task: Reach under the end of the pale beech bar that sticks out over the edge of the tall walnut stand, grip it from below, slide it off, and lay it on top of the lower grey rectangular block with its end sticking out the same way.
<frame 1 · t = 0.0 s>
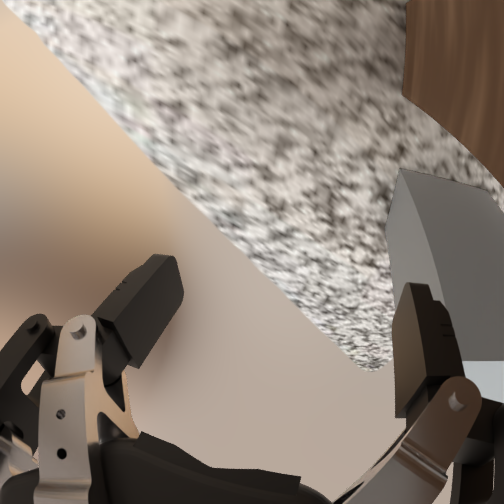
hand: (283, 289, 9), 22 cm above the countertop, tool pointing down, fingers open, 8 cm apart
tall walnut stand: (468, 68, 16), on the countertop
grey rectangular block: (437, 209, 28), on the countertop
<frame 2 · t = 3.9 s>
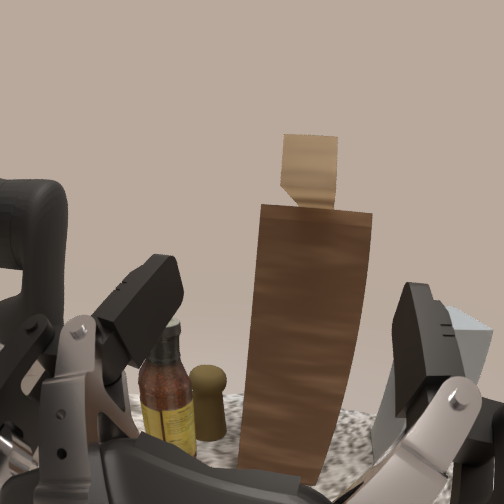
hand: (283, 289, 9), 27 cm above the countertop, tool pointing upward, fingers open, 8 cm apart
sauce bottle: (172, 456, 29), on the countertop
cork: (206, 430, 36), on the countertop
tall walnut stand: (285, 447, 33), on the countertop
grey rectangular block: (398, 455, 29), on the countertop
beech bar: (317, 210, 26), point 32 cm above the countertop, touching tall walnut stand
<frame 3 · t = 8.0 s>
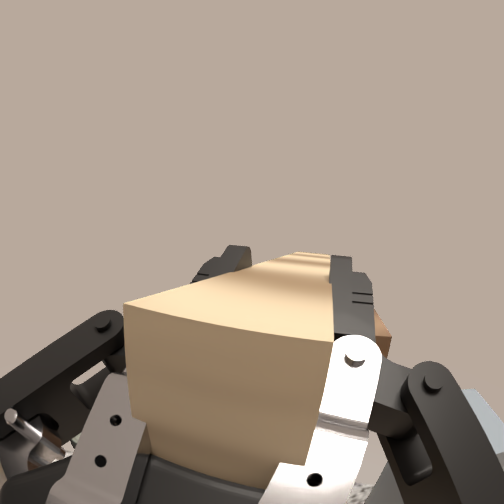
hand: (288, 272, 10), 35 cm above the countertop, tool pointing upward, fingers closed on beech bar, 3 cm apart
beech bar: (296, 316, 15), point 32 cm above the countertop, touching gripper, tall walnut stand
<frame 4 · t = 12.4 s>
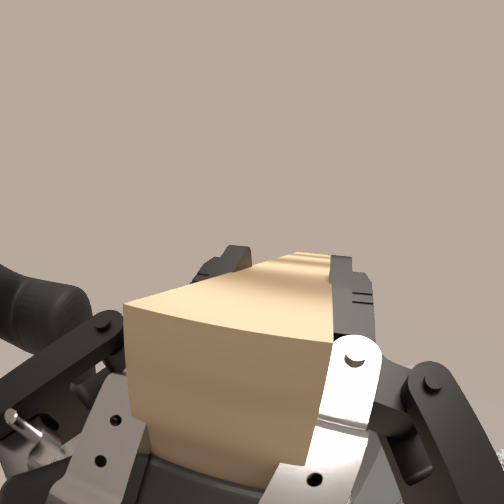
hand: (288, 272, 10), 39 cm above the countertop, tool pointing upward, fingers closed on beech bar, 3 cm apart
grey rectangular block: (373, 482, 33), on the countertop
beech bar: (296, 316, 15), point 36 cm above the countertop, touching gripper
when the fingers open (27 cm above the countertop, at t = 17.2 s): beech bar drops 2 cm, resting on grey rectangular block.
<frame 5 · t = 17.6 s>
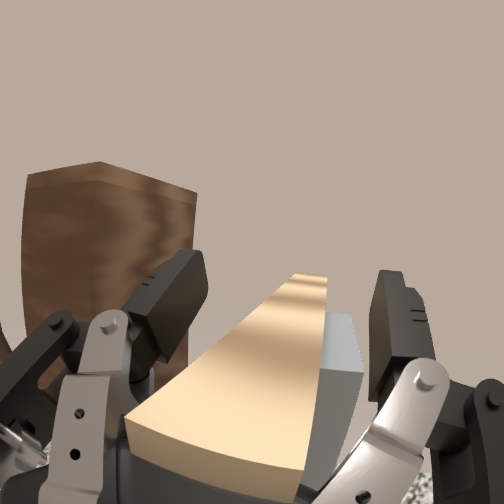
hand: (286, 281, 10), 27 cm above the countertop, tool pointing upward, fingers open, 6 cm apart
tall walnut stand: (129, 462, 25), on the countertop
beech bar: (291, 350, 15), point 22 cm above the countertop, touching grey rectangular block
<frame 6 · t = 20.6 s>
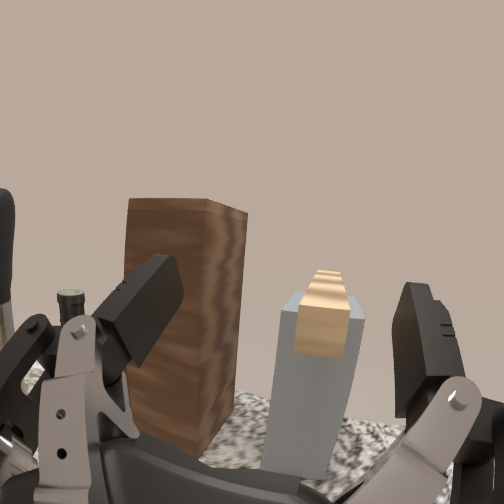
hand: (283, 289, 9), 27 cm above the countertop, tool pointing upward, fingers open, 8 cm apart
sauce bottle: (89, 415, 33), on the countertop
tall walnut stand: (187, 422, 37), on the countertop
grey rectangular block: (298, 449, 32), on the countertop
beech bar: (324, 310, 27), point 22 cm above the countertop, touching grey rectangular block
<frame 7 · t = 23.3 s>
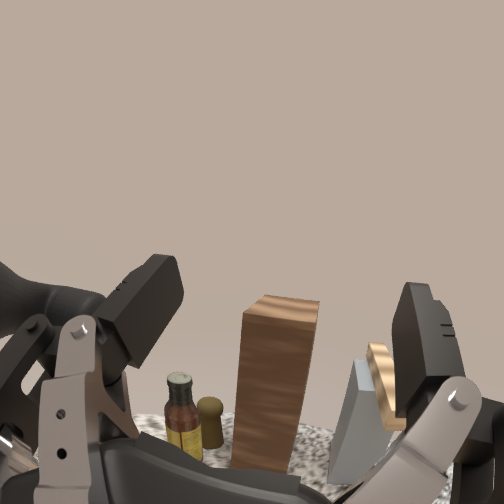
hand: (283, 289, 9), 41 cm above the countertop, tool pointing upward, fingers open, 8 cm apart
sauce bottle: (185, 460, 42), on the countertop
cork: (209, 440, 49), on the countertop
tall walnut stand: (265, 454, 46), on the countertop
grey rectangular block: (348, 464, 42), on the countertop
beech bar: (382, 385, 36), point 22 cm above the countertop, touching grey rectangular block
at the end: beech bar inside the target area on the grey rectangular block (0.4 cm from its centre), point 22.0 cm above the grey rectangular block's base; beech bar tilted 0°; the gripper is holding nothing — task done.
